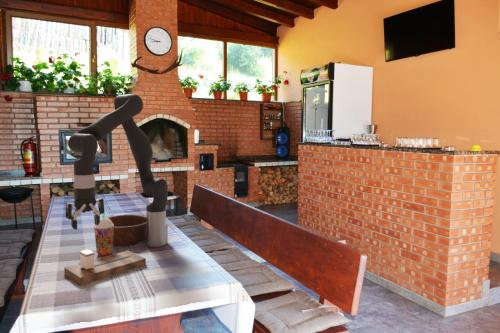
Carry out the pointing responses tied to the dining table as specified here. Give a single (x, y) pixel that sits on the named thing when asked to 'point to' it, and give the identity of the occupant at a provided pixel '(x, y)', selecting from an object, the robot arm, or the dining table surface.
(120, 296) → the dining table surface
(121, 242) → the wooden bowl
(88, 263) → the fader tab
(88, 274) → the brown flat wooden board
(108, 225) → the smoothie
